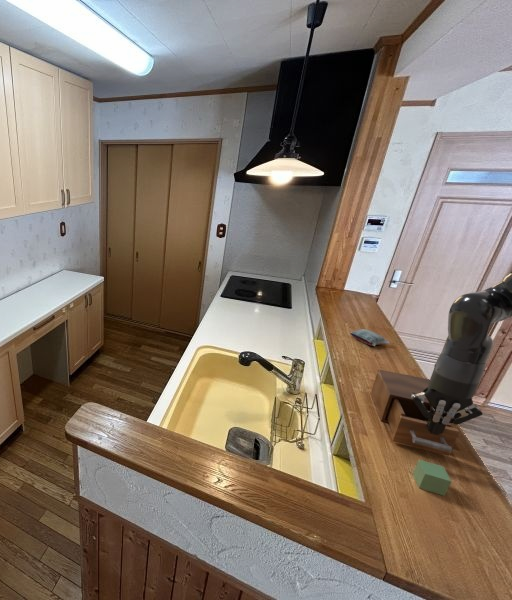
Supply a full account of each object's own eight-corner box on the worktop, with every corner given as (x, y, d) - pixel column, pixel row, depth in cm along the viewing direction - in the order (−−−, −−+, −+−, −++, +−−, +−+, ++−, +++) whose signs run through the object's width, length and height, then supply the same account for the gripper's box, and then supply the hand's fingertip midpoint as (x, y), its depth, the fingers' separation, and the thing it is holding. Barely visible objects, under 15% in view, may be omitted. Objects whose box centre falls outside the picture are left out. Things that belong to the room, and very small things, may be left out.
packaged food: (364, 335, 148) (366, 325, 146) (389, 347, 137) (392, 337, 135) (347, 337, 147) (350, 327, 145) (372, 349, 136) (375, 339, 134)
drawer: (456, 470, 79) (468, 445, 76) (397, 453, 84) (406, 429, 81) (429, 422, 94) (438, 400, 91) (380, 411, 99) (388, 389, 96)
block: (437, 480, 77) (443, 466, 75) (444, 496, 73) (451, 481, 72) (412, 473, 79) (418, 459, 77) (418, 488, 75) (425, 473, 74)
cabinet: (436, 435, 90) (448, 407, 87) (380, 421, 96) (389, 394, 93) (419, 404, 103) (429, 379, 99) (370, 393, 108) (378, 369, 105)
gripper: (424, 374, 75) (403, 433, 81) (505, 389, 69) (476, 452, 75) (414, 359, 81) (395, 415, 87) (488, 372, 75) (462, 431, 81)
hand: (433, 432), depth 81 cm, fingers closed
